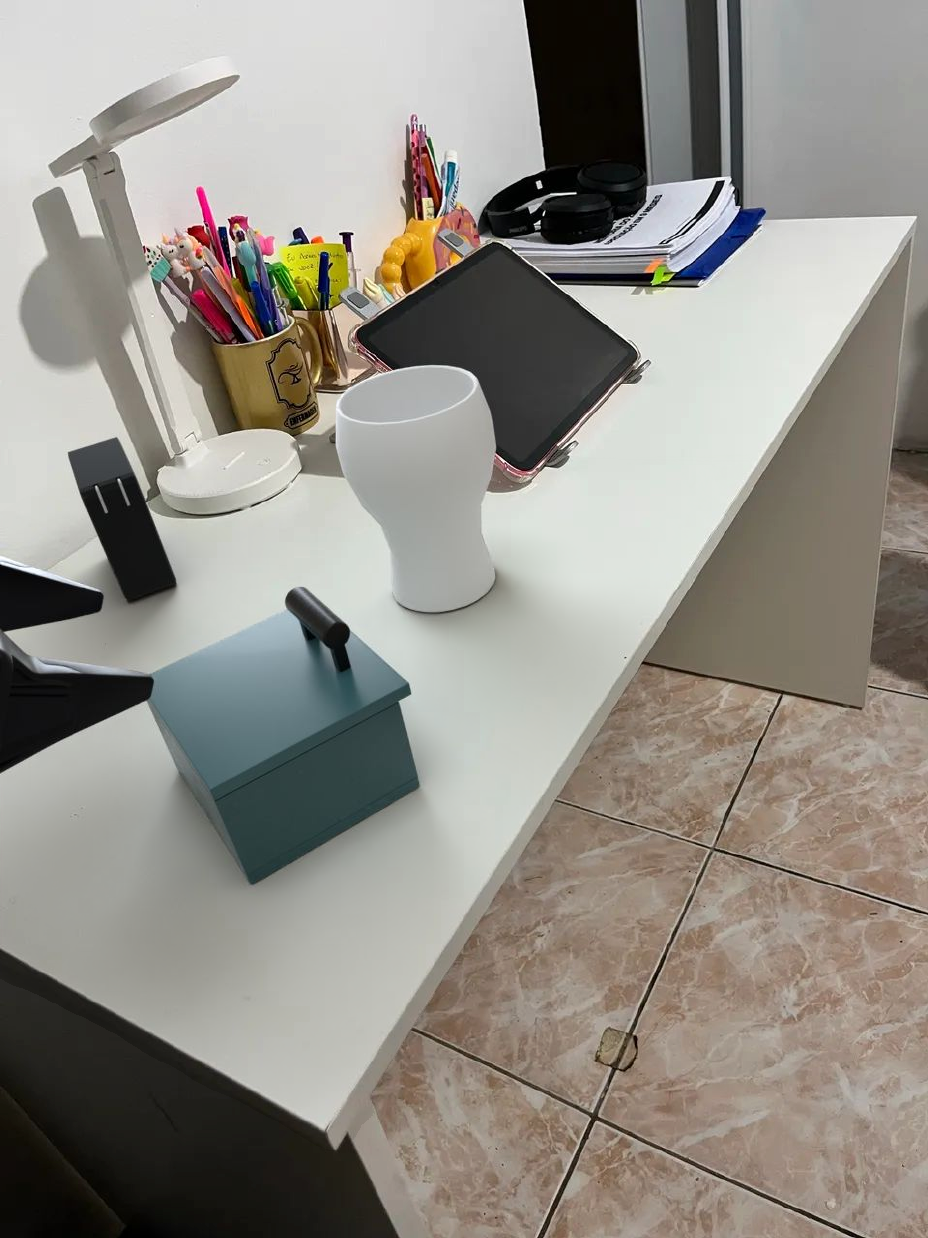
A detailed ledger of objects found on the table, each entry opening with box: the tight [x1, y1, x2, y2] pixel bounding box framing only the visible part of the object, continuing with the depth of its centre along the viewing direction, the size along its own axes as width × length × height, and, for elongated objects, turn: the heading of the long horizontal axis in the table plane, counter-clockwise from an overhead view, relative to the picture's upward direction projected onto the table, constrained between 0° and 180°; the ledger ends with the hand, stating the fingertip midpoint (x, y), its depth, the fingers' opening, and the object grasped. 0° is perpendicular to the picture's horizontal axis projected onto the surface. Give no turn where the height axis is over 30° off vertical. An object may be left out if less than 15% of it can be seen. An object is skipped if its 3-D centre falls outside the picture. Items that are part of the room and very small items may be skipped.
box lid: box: [148, 586, 413, 800], centre depth 51 cm, size 11×12×4 cm
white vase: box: [335, 364, 497, 613], centre depth 66 cm, size 11×11×15 cm
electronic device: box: [67, 436, 177, 602], centre depth 77 cm, size 4×10×10 cm, turn 26°
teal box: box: [146, 700, 421, 885], centre depth 54 cm, size 11×12×6 cm
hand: (125, 640), depth 45 cm, fingers open, 9 cm apart
